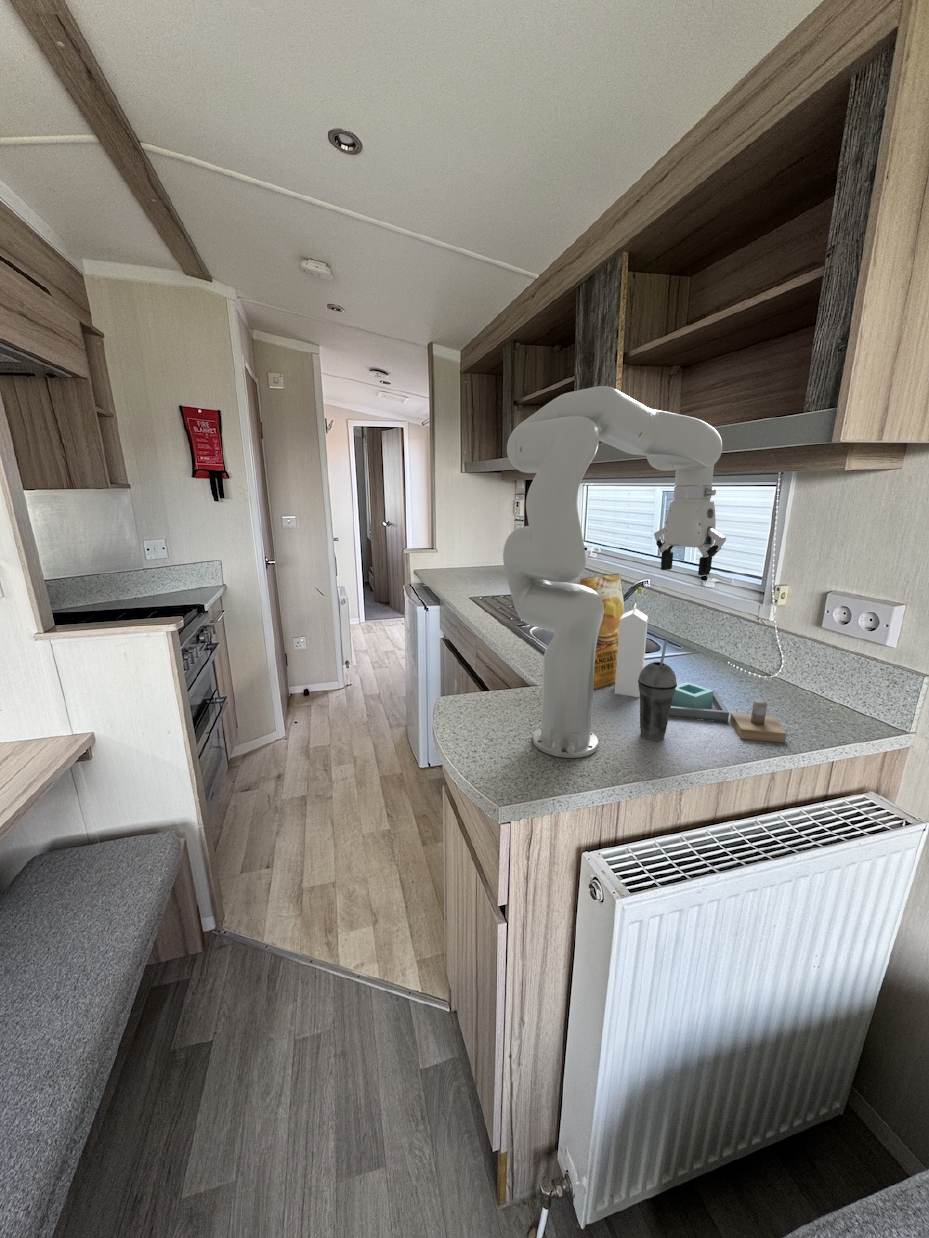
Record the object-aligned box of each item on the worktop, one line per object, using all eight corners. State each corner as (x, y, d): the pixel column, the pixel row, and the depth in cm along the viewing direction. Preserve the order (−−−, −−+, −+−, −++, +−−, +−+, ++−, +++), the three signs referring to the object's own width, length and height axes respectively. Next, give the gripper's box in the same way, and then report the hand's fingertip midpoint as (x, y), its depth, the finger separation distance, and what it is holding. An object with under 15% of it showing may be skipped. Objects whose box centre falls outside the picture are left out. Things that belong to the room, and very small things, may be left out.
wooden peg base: (784, 742, 100) (789, 712, 98) (740, 738, 101) (744, 708, 100) (771, 725, 107) (775, 696, 106) (729, 721, 109) (733, 693, 107)
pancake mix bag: (563, 685, 130) (568, 577, 123) (613, 671, 140) (620, 571, 133) (583, 694, 124) (589, 581, 118) (633, 678, 135) (641, 574, 128)
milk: (614, 694, 124) (619, 606, 119) (617, 685, 130) (622, 601, 124) (640, 697, 122) (647, 608, 117) (642, 689, 127) (649, 603, 122)
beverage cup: (625, 731, 104) (633, 638, 100) (654, 725, 107) (662, 634, 102) (650, 747, 98) (659, 648, 93) (679, 741, 100) (690, 644, 96)
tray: (727, 722, 109) (729, 712, 108) (663, 716, 112) (664, 707, 111) (713, 699, 121) (715, 690, 120) (656, 694, 124) (657, 685, 123)
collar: (717, 705, 116) (719, 688, 115) (693, 713, 112) (695, 696, 111) (691, 695, 122) (693, 680, 121) (668, 703, 117) (669, 687, 116)
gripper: (740, 494, 106) (730, 575, 110) (669, 494, 120) (663, 566, 124) (718, 494, 102) (709, 578, 106) (648, 495, 117) (642, 568, 121)
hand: (684, 572), depth 115 cm, fingers open, 9 cm apart
